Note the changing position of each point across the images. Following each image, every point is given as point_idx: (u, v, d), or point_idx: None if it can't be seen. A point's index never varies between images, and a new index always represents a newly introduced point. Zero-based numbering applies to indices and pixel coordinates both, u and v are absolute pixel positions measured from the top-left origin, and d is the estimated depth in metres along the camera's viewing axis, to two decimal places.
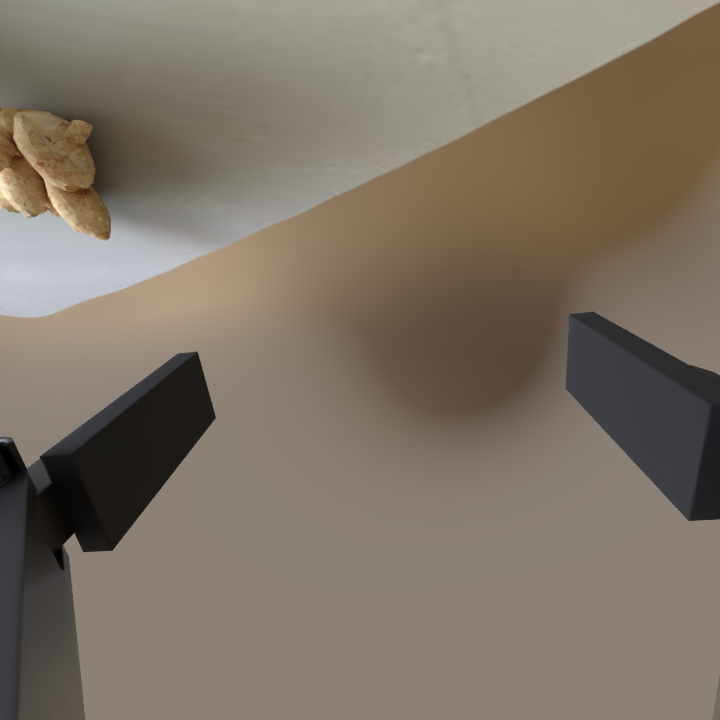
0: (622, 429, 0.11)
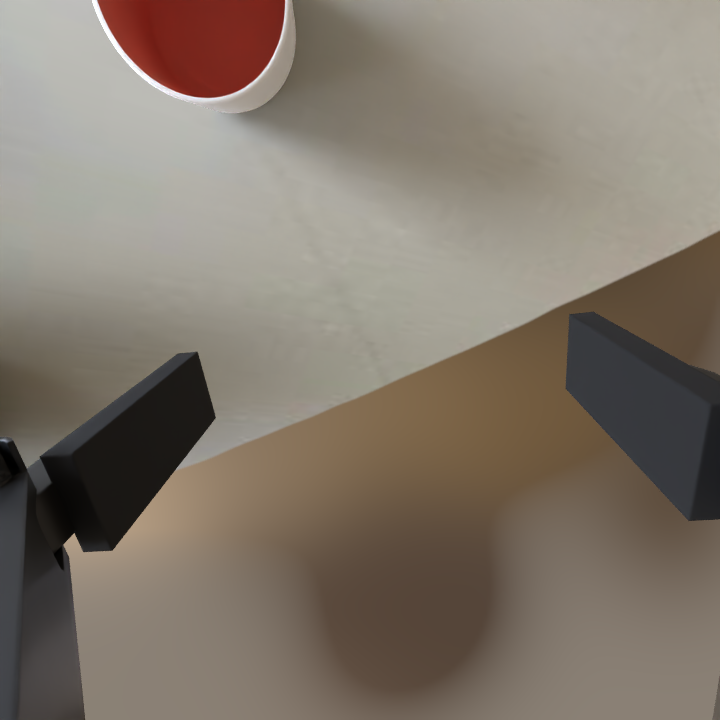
0: (621, 429, 0.11)
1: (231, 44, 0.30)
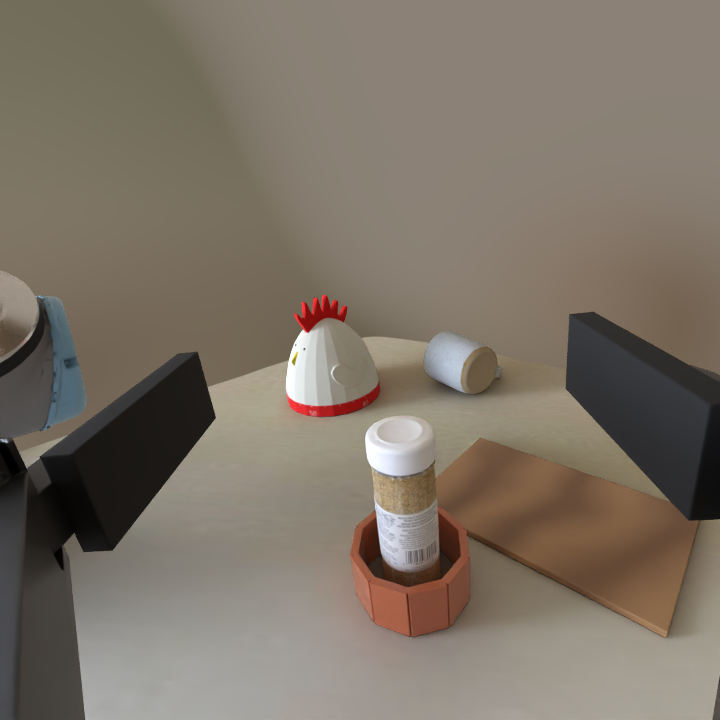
0: (622, 429, 0.11)
1: None
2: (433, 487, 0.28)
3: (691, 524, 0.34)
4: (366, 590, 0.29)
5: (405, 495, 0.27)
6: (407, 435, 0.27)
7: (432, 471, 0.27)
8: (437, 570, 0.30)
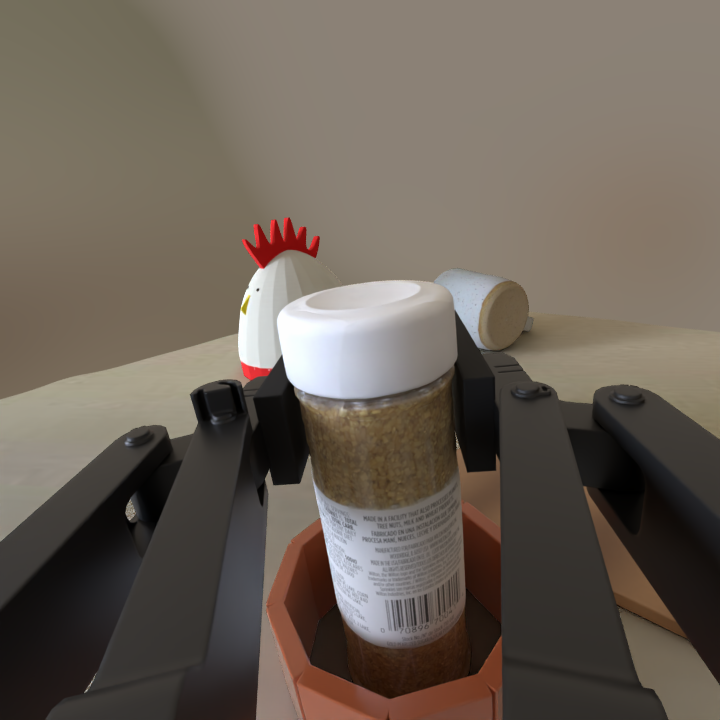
0: None
1: None
2: (451, 441, 0.11)
3: None
4: (295, 694, 0.12)
5: (378, 456, 0.10)
6: (381, 298, 0.10)
7: (448, 398, 0.11)
8: (461, 637, 0.14)
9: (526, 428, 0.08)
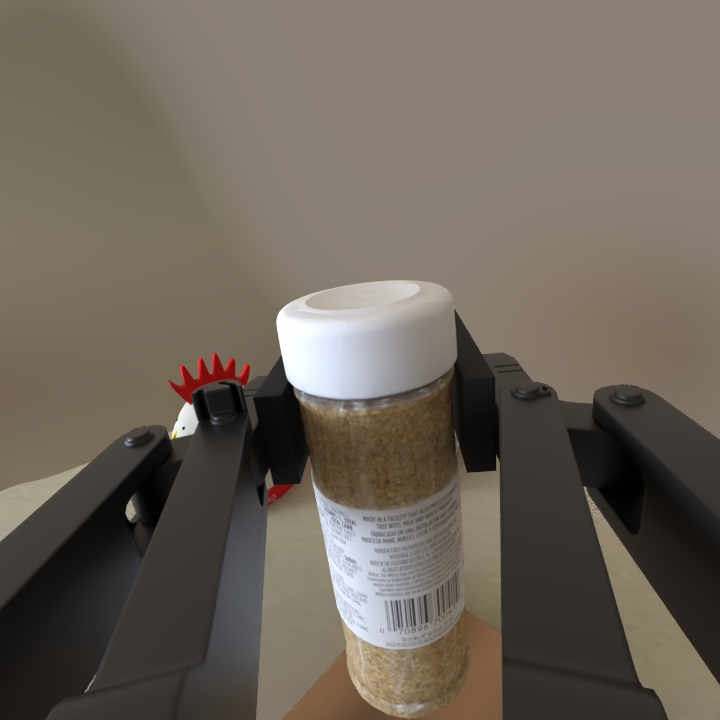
0: None
1: None
2: (451, 441, 0.11)
3: None
4: None
5: (377, 456, 0.10)
6: (380, 299, 0.10)
7: (448, 398, 0.11)
8: (461, 638, 0.14)
9: (526, 428, 0.08)
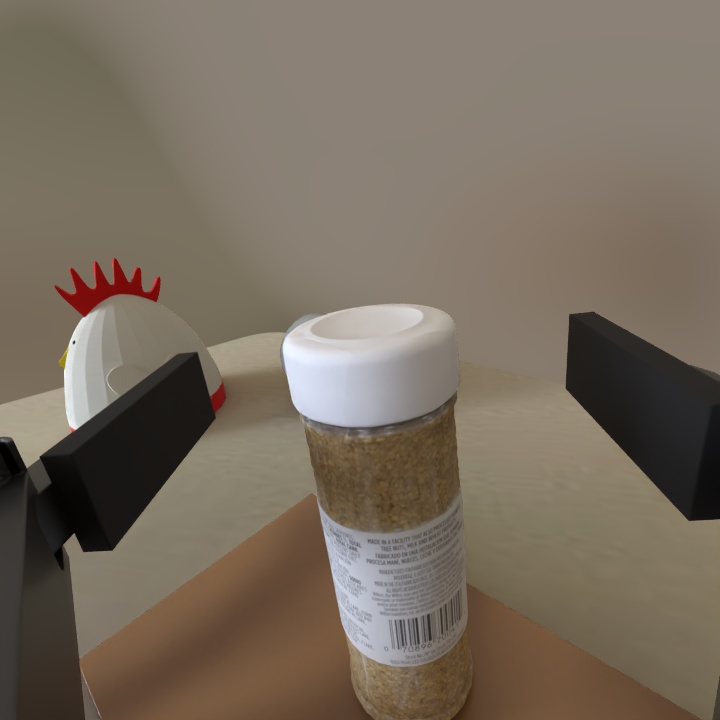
0: (622, 429, 0.11)
1: None
2: (453, 464, 0.11)
3: None
4: None
5: (381, 481, 0.10)
6: (384, 327, 0.10)
7: (451, 422, 0.11)
8: (463, 654, 0.14)
9: None
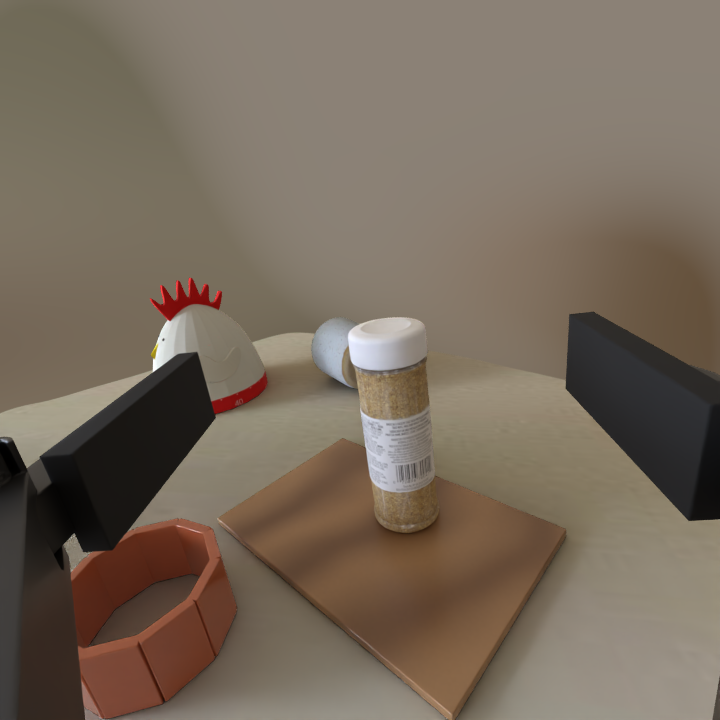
0: (621, 429, 0.11)
1: None
2: (425, 391, 0.25)
3: (547, 545, 0.25)
4: None
5: (392, 395, 0.24)
6: (393, 328, 0.24)
7: (423, 371, 0.24)
8: (433, 494, 0.27)
9: None
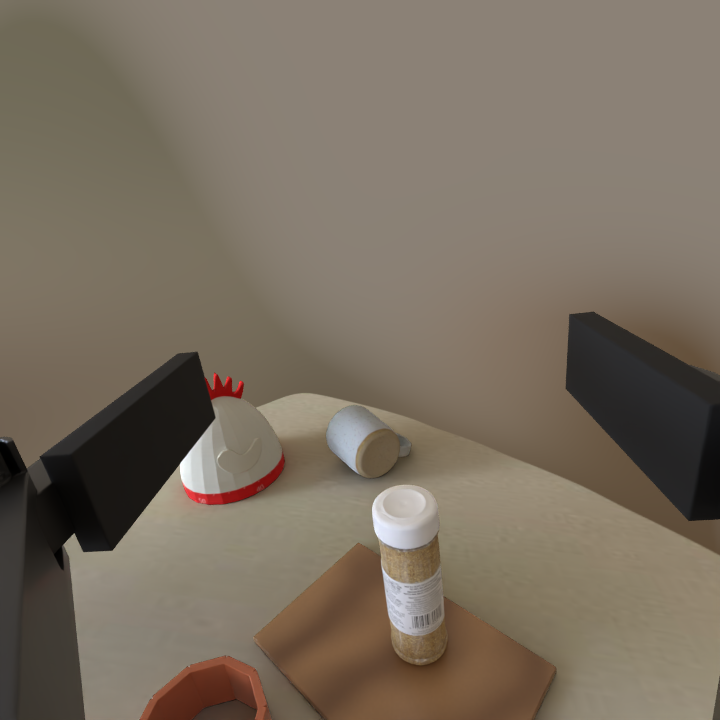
0: (621, 429, 0.11)
1: None
2: (437, 555, 0.29)
3: (539, 686, 0.29)
4: None
5: (410, 566, 0.28)
6: (411, 508, 0.28)
7: (436, 541, 0.29)
8: (442, 631, 0.32)
9: None
